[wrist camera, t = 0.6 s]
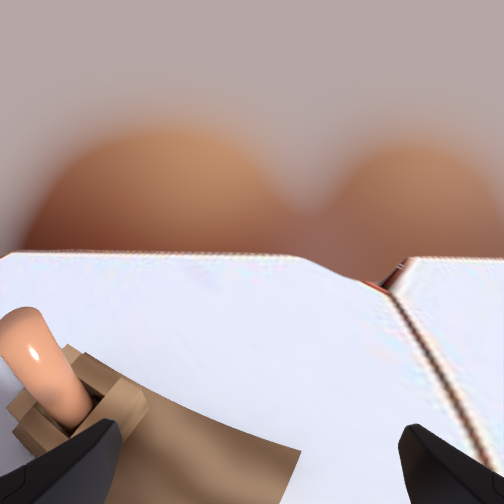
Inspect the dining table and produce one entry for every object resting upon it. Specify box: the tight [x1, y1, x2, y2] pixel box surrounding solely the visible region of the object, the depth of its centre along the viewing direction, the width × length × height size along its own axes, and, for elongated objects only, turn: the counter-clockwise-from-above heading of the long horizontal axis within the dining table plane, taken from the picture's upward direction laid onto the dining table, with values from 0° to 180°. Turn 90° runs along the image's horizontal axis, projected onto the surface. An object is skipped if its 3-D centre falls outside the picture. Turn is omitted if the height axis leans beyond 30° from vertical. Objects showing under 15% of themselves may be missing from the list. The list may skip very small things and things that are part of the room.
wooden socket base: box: [7, 344, 301, 504], centre depth 18 cm, size 12×22×4 cm, turn 67°
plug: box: [0, 307, 97, 436], centre depth 17 cm, size 4×4×11 cm
